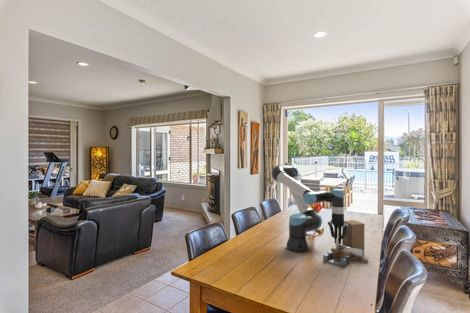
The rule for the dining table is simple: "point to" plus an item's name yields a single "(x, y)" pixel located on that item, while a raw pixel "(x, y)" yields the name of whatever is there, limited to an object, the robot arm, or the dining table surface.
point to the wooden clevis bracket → (341, 253)
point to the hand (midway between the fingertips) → (337, 248)
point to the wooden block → (354, 235)
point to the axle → (352, 250)
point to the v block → (336, 259)
